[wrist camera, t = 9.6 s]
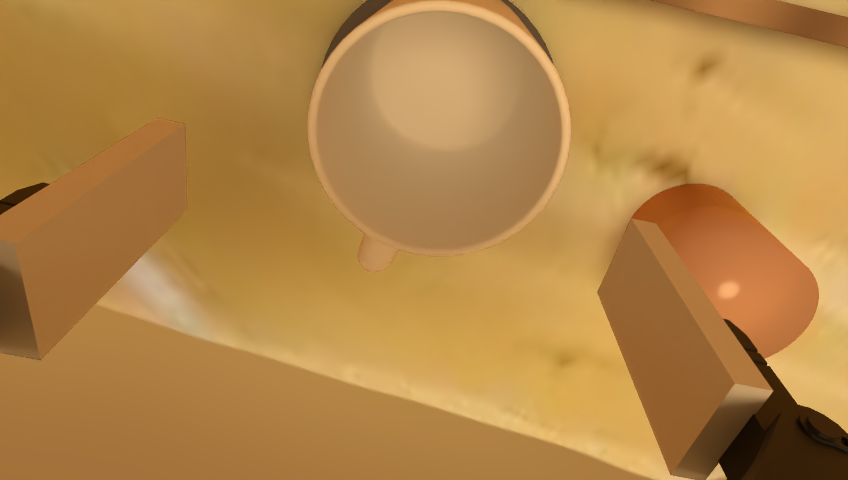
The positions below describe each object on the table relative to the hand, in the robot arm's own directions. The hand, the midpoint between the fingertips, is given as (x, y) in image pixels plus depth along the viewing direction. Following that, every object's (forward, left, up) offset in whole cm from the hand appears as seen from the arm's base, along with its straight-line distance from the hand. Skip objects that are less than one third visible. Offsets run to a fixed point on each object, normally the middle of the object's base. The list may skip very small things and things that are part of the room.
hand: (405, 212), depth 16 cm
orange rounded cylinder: (+15, -4, -13) cm, 21 cm away
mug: (0, 0, -12) cm, 12 cm away
